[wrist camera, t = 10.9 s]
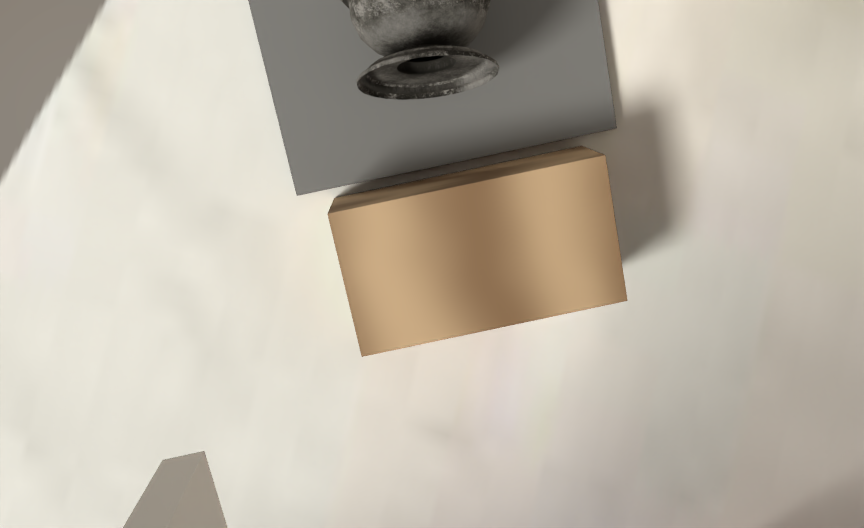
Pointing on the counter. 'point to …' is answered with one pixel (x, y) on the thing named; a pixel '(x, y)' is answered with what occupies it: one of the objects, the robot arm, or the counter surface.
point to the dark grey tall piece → (422, 47)
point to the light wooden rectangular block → (478, 249)
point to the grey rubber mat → (431, 117)
